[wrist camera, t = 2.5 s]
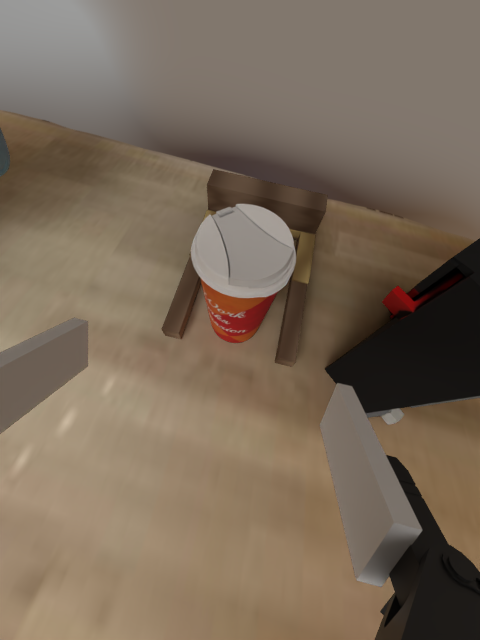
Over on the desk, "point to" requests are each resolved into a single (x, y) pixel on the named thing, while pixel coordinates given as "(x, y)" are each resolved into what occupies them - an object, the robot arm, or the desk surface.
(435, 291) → the electrical component
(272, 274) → the coffee cup
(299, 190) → the guide channel
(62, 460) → the desk surface
